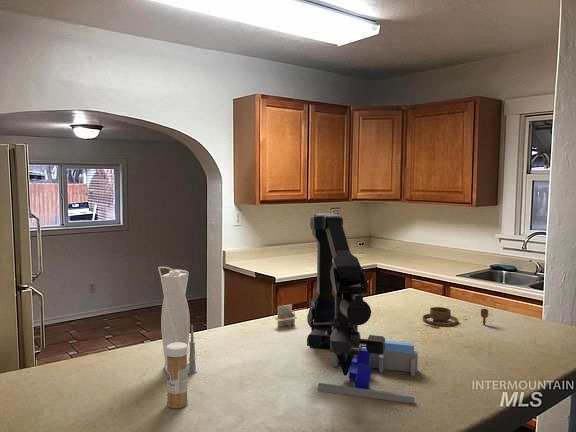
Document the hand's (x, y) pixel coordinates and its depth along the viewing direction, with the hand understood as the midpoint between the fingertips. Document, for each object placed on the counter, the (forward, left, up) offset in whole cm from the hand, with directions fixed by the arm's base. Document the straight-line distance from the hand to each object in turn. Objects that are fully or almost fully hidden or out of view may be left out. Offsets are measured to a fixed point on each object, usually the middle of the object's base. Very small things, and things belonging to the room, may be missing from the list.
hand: (345, 375), depth 120 cm
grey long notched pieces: (+6, +2, -1) cm, 6 cm away
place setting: (+27, +57, -2) cm, 63 cm away
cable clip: (+3, 0, -1) cm, 3 cm away
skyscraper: (-43, -7, -2) cm, 44 cm away
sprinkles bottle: (-33, -24, -1) cm, 41 cm away
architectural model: (-27, +38, -2) cm, 46 cm away
